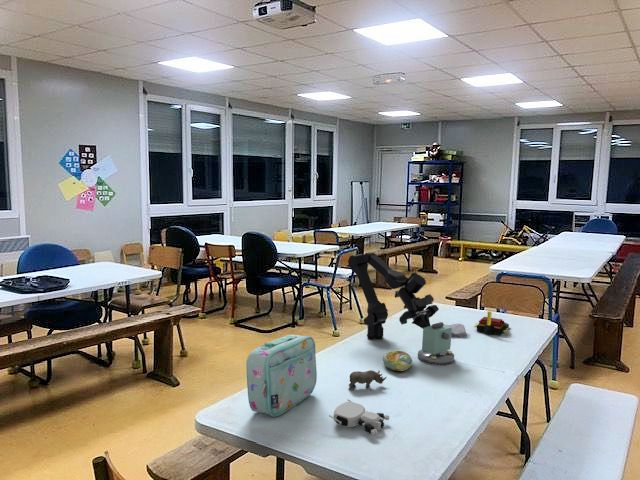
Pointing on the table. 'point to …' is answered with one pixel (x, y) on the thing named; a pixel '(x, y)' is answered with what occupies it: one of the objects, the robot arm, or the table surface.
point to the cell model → (397, 360)
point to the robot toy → (358, 417)
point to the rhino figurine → (365, 378)
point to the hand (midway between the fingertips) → (430, 332)
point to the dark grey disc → (436, 357)
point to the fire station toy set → (491, 325)
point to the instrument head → (436, 338)
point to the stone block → (458, 330)
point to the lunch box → (281, 374)
